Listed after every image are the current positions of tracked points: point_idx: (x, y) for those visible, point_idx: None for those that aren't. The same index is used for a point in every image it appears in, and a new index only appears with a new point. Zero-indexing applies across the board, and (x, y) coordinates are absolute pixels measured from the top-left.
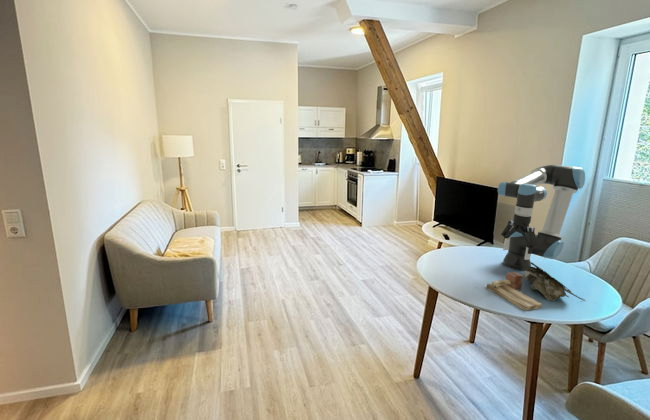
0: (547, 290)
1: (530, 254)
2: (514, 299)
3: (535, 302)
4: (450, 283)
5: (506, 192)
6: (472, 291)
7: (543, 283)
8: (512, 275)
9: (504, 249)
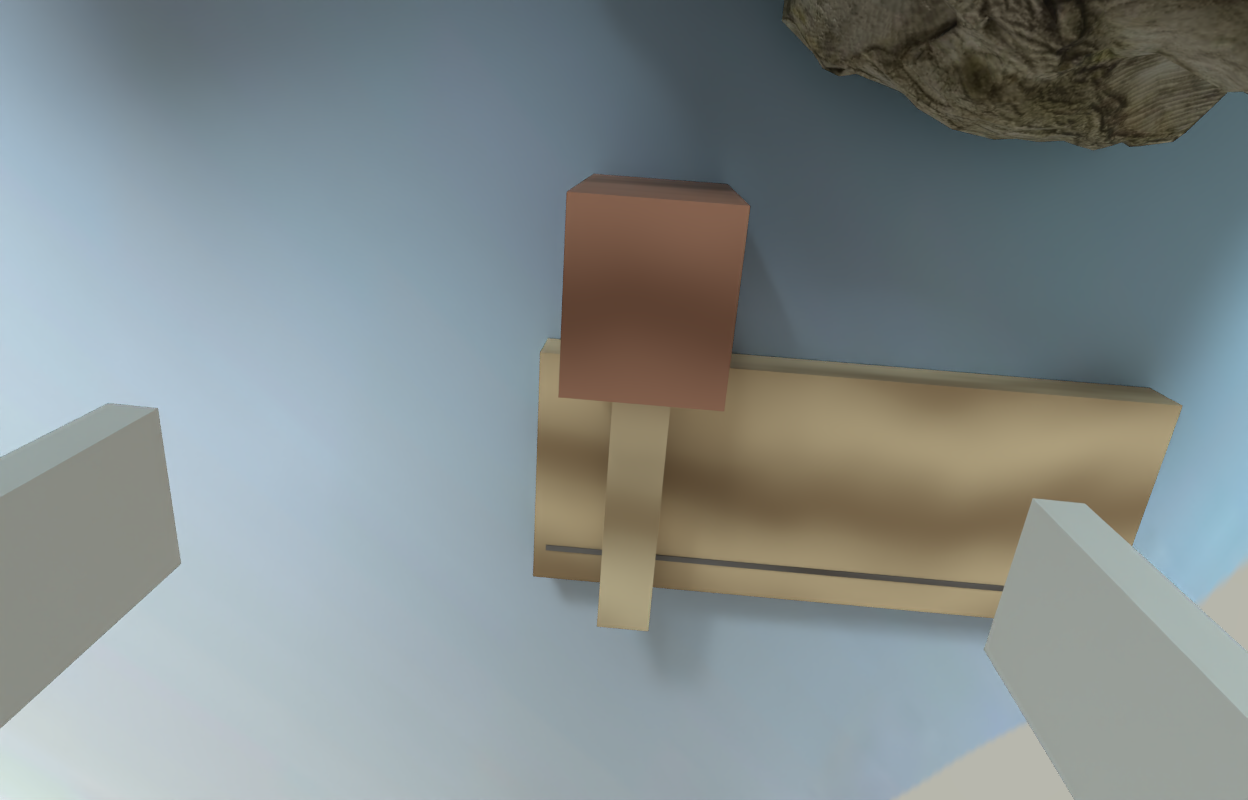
0: (1151, 106)
1: (1201, 622)
2: (938, 603)
3: (1112, 448)
4: (363, 789)
5: None
6: (569, 734)
7: (1085, 65)
8: (672, 395)
9: (162, 569)
